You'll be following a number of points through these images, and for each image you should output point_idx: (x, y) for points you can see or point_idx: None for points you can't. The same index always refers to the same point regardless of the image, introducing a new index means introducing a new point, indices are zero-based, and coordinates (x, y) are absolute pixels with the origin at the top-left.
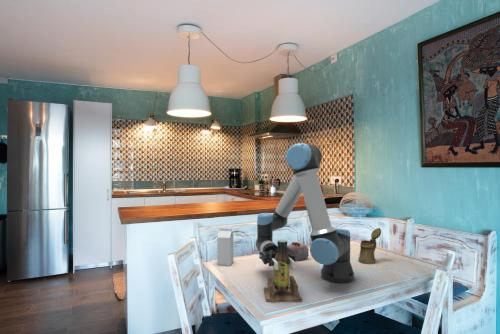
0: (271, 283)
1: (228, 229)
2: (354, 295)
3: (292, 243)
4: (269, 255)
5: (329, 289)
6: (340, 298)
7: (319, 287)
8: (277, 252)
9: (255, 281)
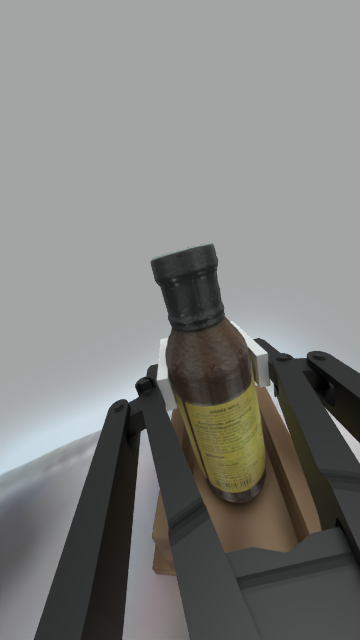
0: (265, 408)
1: None
2: (17, 472)
3: None
4: (327, 418)
5: (17, 554)
6: (70, 449)
7: (24, 608)
8: (225, 317)
9: None
